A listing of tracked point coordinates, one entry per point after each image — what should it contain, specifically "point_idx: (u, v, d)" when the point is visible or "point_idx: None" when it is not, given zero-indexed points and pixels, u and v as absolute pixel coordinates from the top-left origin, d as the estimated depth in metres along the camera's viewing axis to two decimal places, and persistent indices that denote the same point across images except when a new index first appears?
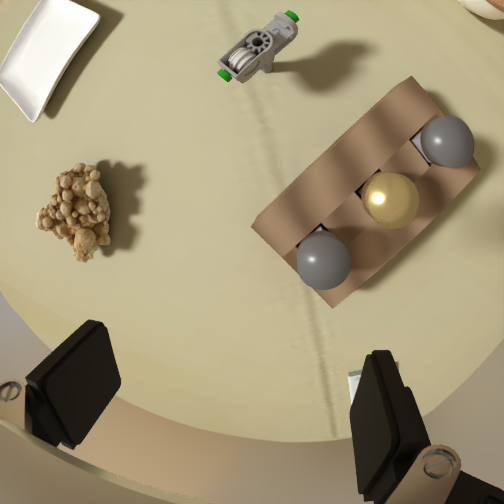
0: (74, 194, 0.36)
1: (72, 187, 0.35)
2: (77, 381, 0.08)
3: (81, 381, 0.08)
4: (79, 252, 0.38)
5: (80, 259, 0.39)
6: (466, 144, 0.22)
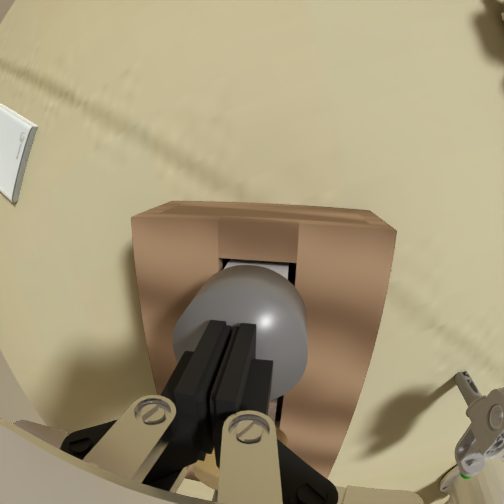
0: None
1: None
2: None
3: None
4: None
5: None
6: None
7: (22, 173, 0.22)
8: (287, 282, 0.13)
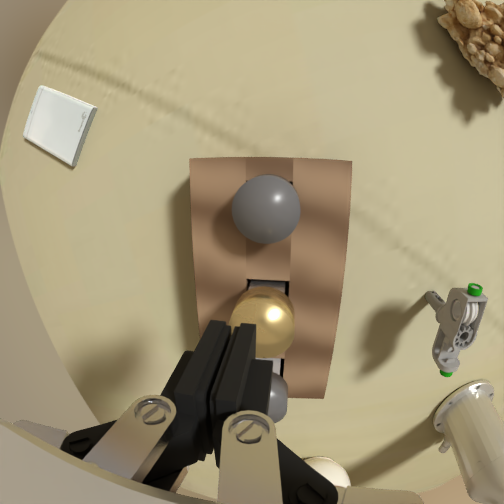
0: None
1: None
2: None
3: None
4: None
5: None
6: None
7: (82, 143, 0.32)
8: (288, 181, 0.24)
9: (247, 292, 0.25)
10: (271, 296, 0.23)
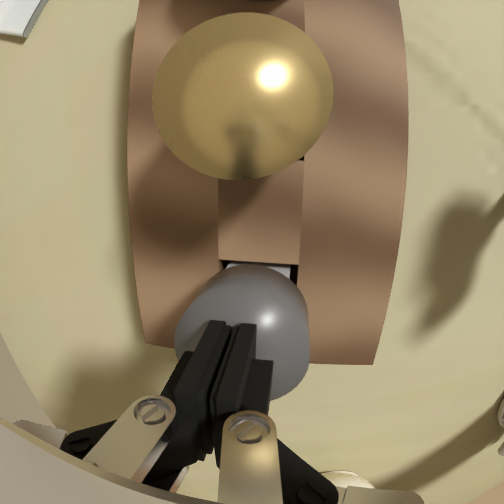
0: None
1: None
2: None
3: None
4: None
5: None
6: None
7: (39, 11, 0.17)
8: None
9: None
10: None
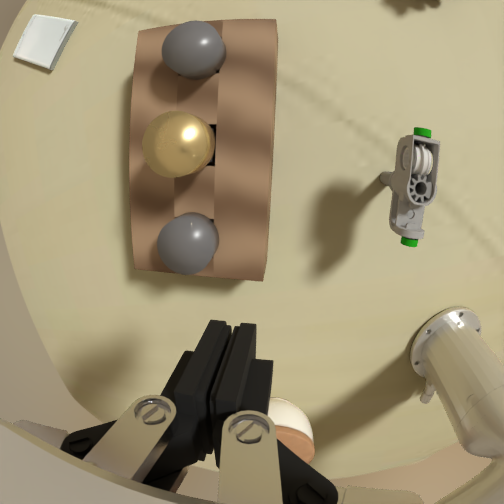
0: None
1: None
2: None
3: None
4: None
5: None
6: (172, 258, 0.27)
7: (61, 51, 0.29)
8: None
9: None
10: None
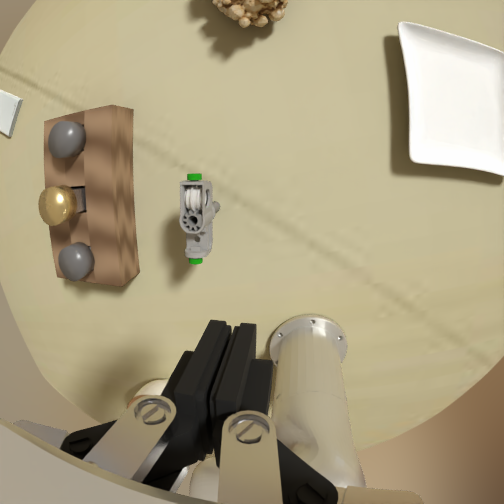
0: None
1: None
2: None
3: None
4: None
5: None
6: (66, 270, 0.39)
7: (14, 122, 0.42)
8: (80, 123, 0.34)
9: None
10: (58, 186, 0.33)
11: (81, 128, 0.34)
